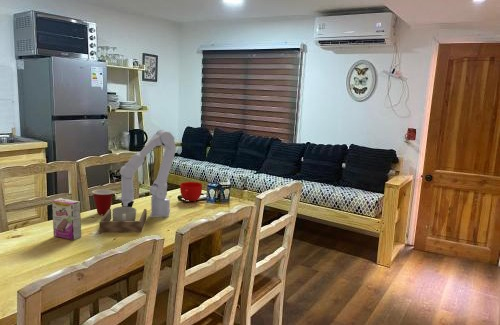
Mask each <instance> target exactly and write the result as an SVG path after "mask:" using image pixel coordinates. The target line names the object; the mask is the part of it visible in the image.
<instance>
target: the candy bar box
mask: <svg viewBox="0 0 500 325" xmlns="http://www.w3.org/2000/svg"><path fill="white" fill-rule="evenodd" d="M51 208H52V225H53V226H52V227H53V237H56V238H59V239H65V240H70V241H76V240H78V239H79V238H82V221H81V220H82V218H81V217H82V216H81V201H80V200H79V201H78V200H73V199H67V198H63V197H59V198H56V199H52V200H51Z"/></svg>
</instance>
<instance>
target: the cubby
mask: <svg viewBox="0 0 500 325" xmlns="http://www.w3.org/2000/svg"><path fill="white" fill-rule="evenodd" d="M147 211H148V209H146V208H144V209H143V212H142V213H141V215H140V218H139V220H135V221H113V220H112V209H111V208H110V209H108V211H107V212H106V214H105V215H102V218H101V220H99V222H98V223H99V225H98V226H99V233H101V234H102V233H104V234H105V233H106V234H107V233H110V234H111V233H142V232H143V230H144V227H145V225H146V222H147V220H148V219H147V218H148V217H147V213H148V212H147Z"/></svg>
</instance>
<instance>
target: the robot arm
mask: <svg viewBox="0 0 500 325" xmlns="http://www.w3.org/2000/svg"><path fill="white" fill-rule="evenodd" d="M159 146H162V147H163V149H164V152H163V156H162V159H161V162H160V166H159V169H158V172H157V177H156V179H155V180H154V182H153V184H152V185H151V186H150V187H149V193H150V195H151V197H150V198H151V199H150V201H151V202H150V203H151V204H150V205H151V207H150V211H151V212H150V215H149V217H150V218H163V217H164V218H168V217H170V213H171V209H170V199H171V198H168V197H167V195H168V190H167V189H168V183H167V182H168V179H169V174H170V172H171V167H172V165H173V161H174V158H175V154H176V151H177V146H176V143H175V136H174V135H173V134H172V133H171V132H170V131H167V130H163V129H159V130H157V131H156V133H154V134H153V136H151V138H150V140H149V141H148V142H147V143H146V145H145V146H144V147H143V148H142V149H141V150H140V152H138V153H134V154H132V155H131V158H130V159H129V160H128V161H127V162H125V163H124V165H122V166H121V167H120V170H119V171H118V172H119V174H120V179H121V181H120V188H121V193H120V194H121V197H120V198H118V201H121V203H120V205H121V207H133V205H134V203H135V201H134V200H135V198H134V176H135V175H136V172H137V170H138V169H139V168H140V167H141V166H142V165H143V164H144V162H145V158H146V157H147V156H148V155H149V154H150V153H151V152H152V151H153V150H154V148H155V147H159Z"/></svg>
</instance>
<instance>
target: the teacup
mask: <svg viewBox="0 0 500 325" xmlns="http://www.w3.org/2000/svg"><path fill="white" fill-rule="evenodd" d="M111 212H112V221H136V217H137V208H135V207H134V206H132V207H122V206H118V207H117V206H116V207H113V208H112V209H111Z"/></svg>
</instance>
